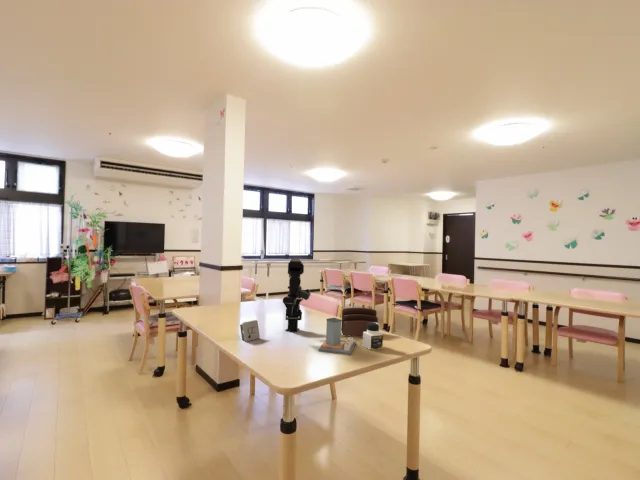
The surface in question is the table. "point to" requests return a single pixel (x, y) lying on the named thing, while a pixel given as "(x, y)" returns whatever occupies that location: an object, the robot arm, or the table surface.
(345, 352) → the board
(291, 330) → the robot arm
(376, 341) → the medicine bottle
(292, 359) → the table surface
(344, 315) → the letter holder
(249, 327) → the electrical switch
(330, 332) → the cap
